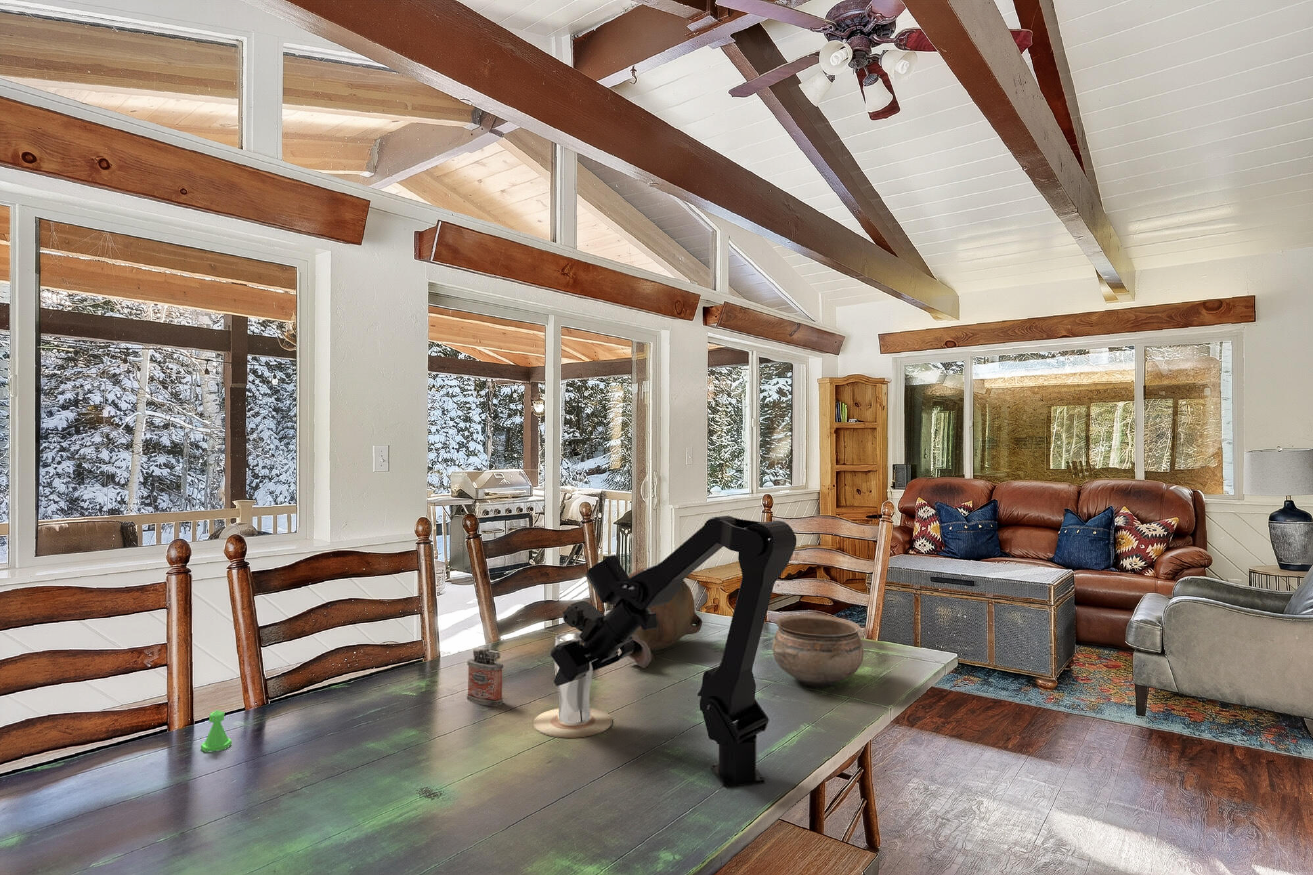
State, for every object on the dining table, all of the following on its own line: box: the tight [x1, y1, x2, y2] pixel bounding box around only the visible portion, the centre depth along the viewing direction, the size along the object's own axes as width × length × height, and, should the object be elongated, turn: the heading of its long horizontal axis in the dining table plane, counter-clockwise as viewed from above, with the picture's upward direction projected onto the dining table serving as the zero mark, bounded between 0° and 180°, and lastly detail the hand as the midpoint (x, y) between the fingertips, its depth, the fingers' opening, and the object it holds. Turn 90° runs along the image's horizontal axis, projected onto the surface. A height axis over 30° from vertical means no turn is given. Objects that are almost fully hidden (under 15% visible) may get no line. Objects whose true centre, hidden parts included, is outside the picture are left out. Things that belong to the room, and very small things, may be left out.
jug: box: [615, 567, 703, 669], centre depth 176 cm, size 20×20×30 cm
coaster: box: [532, 707, 613, 739], centre depth 131 cm, size 14×14×1 cm
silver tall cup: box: [553, 631, 594, 726], centre depth 131 cm, size 7×7×15 cm
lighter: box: [466, 647, 504, 707], centre depth 141 cm, size 8×3×10 cm, turn 62°
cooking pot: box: [772, 614, 865, 688], centre depth 155 cm, size 25×19×12 cm
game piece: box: [200, 709, 233, 753], centre depth 119 cm, size 4×4×6 cm
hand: (567, 678), depth 131 cm, fingers closed on silver tall cup, 7 cm apart
